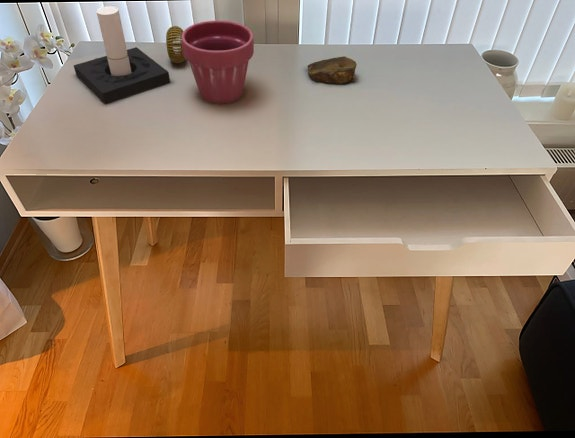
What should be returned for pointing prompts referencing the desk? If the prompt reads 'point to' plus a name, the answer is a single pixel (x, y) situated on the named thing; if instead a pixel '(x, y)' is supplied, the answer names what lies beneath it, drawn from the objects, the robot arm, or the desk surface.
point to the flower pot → (218, 58)
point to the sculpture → (174, 44)
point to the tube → (114, 40)
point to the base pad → (119, 87)
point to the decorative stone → (333, 70)
